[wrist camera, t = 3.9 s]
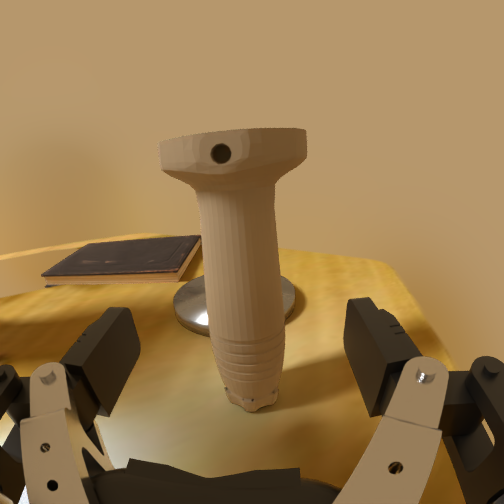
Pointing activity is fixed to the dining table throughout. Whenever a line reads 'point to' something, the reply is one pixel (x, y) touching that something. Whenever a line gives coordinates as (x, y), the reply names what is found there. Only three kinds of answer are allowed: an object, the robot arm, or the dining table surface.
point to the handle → (240, 248)
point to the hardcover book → (126, 262)
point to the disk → (195, 308)
